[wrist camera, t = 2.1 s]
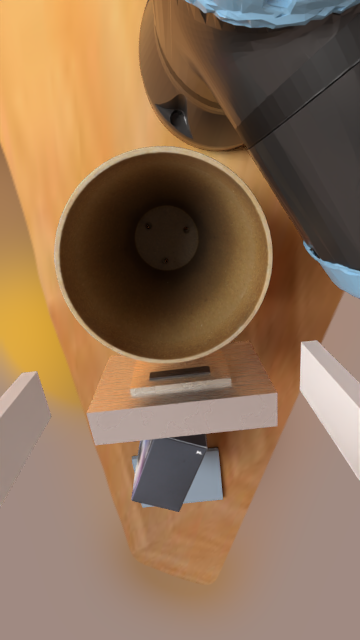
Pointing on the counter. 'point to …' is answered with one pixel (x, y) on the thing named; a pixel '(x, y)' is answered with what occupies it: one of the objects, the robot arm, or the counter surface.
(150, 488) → the small box
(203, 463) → the mat
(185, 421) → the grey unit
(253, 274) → the plant pot
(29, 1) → the counter surface
